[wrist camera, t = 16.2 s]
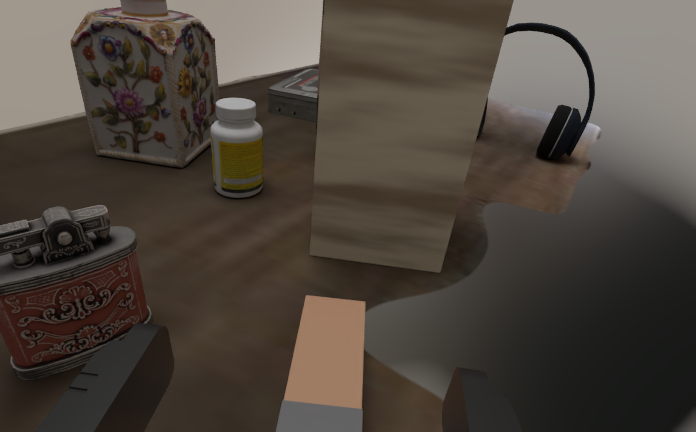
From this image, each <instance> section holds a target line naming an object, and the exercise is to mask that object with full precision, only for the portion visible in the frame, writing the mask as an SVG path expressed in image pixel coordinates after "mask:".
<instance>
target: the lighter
mask: <svg viewBox="0 0 696 432" xmlns="http://www.w3.org/2000/svg"><path fill="white" fill-rule="evenodd" d="M110 225H111V224H110V220H109V215H108V211H107V208H106V207H105V206H103V205H97V206H92V207H88V208H83V209H79V210H75V211H69V210H68V209H66V208H65V207H60V206H57V207H52V208H48V209H47V210H45V211H44V212H43V214H42V217H41V218H39V219H36V220H32V221H27V220H22V221H17V222H13V223H9V224H4V225H0V332H1V334H2V336H3V339H4V341H5V343H6V345H7V347H8V349H9V351H10V353H11V355H12V356H11V364H12V366H13V368H14V370H15V372H16V374H17V376H18V377H19V378H21V379H24V380H34V379H39V378H42V377H46V376H49V375H52V374H56V373H59V372H62V371H66V370H69V369H71V368H74V367H77V366H79V365H82V364H85V363H87V362H88V361H89V360H90V359H91V357H92V356H93V355H94V354H95V353H96V352H97V351H99V350H100V349H101V348H103V347H104V346H105V345H107V344H108V343H109V342H111V341H112V340H119V341H123V339H124V338H125V336H126V335H127V334H128V332H129V331H130V329H131V328H132V327H133V326H134V325H135V324H136V323H145V324H153V320H152V315H151V311H150V308H149V307H148V306H147V304H146V299H145V294H144V290H143V285H142V280H141V275H140V270H139V266H138V261H137V256H136V251H135V250H136V248H137V241H136V236H135V233H134V231H133V230H132V229H130V228H127V227H122V226H114V227H110Z"/></svg>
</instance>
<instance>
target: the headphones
mask: <svg viewBox="0 0 696 432" xmlns="http://www.w3.org/2000/svg"><path fill="white" fill-rule="evenodd" d="M517 31H538V32H544V33H548V34H553V35H555V36H558V37H560V38H562V39H563V40H565V41H566V42H568V43H569V44H570V45H571V46H572V47H573V48H574V49H575V51H576V52H577V53H578V55H579V56H580V57H581V59H582V61H583V63H584V65H585V67H586V69H587V74H588V78H589V102H588V107H587V110H586V114H585V116H584V119H583V120H582V122H581V116H580V113H579V111H578V109H575V108H572V109H571V107H569V106H564V105H559V106H558V107H557V109H556V111H555V113H554V115H553V117H552V119H551V121H550V123H549V125H548V127H547V129H546V131H545V133H544V136H543V138H542V140H541V142H540V144H539V146H538V149H537V152H538V153H539V154H541V155H543V156H545V157H547V156H548V158H551V159H556V158H558V157H560V156H562V155H563V154H565V153H566V154H567V155H568V156H570V155H571V153H572V152H573V150H574V148H575V146H576V144H577V143H578V141H579V139H580V137H581V135H582V133H583V131H584V129H585V127H586V125H587V123H588V120H589V117H590V114H591V111H592V107H593V102H594V96H595V83H594V74H593V70H592V65H591V62H590V59H589V56H588V54H587V52H586V51H585V49H584V47H583V46H582V45H581V43H580V42H579V41H578V40H577V38H575V37H574V36H573V35H572V34H571V33H570V32H568V31H566V30H564V29H561V28H559V27H556V26H552V25H548V24H542V23H519V24H516V25H513V26H510V27H507V28H506V30H505V34H504V36H505V35H507V34H509V33H513V32H517ZM487 101H488V97H487ZM487 101H486V105H485V108H484V112H483V116H482V119H481V123H480V127H479V131H478V134H477V136H478V135H479V134H480V133H481V131H482V129H483V126H484V122H485V116H486V109H487Z"/></svg>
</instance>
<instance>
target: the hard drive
mask: <svg viewBox="0 0 696 432" xmlns="http://www.w3.org/2000/svg"><path fill="white" fill-rule="evenodd" d="M318 75H319V70H316V69H306V70H304V71H302V72H300V73H298V74H296V75H294V76H291V77H289V78H287V79H285V80H283V81H281V82H279V83H277V84H274V85H272V86H270V87H269V112H271V113H274V114H279V115H284V116H289V117H294V118H299V119H304V120H308V121H313V122H317V90H318Z"/></svg>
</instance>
